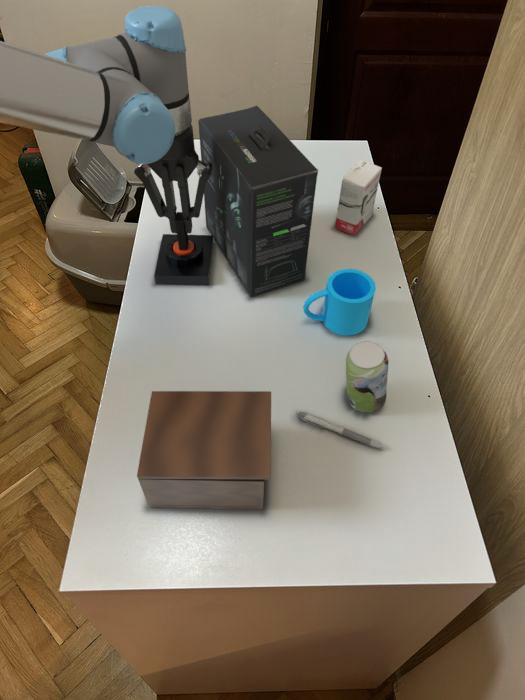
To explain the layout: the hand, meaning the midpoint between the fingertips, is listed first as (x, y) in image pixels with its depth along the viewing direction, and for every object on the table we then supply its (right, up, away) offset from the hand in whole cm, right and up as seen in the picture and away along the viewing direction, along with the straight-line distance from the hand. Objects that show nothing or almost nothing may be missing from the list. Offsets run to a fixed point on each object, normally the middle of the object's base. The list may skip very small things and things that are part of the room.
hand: (183, 245), depth 100 cm
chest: (+7, -36, -23) cm, 44 cm away
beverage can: (+30, -28, -16) cm, 44 cm away
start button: (0, -1, +2) cm, 2 cm away
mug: (+28, -14, -5) cm, 32 cm away
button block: (0, -3, +3) cm, 5 cm away
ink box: (+34, +7, +12) cm, 37 cm away
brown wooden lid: (+8, -31, -31) cm, 44 cm away
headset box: (+13, -1, +6) cm, 14 cm away
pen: (+26, -32, -20) cm, 46 cm away
